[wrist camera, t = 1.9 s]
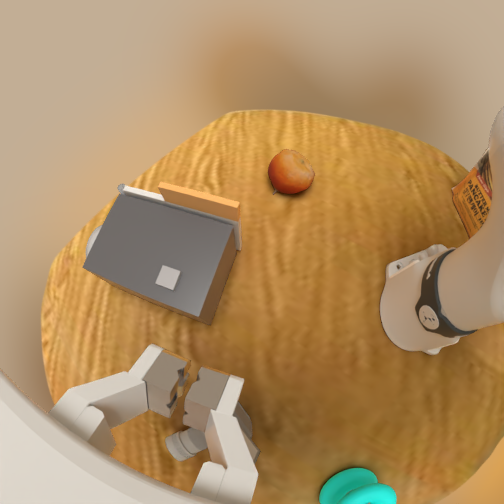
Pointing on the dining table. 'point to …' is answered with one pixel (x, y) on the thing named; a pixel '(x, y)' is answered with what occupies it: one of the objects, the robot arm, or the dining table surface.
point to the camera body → (163, 256)
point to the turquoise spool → (356, 489)
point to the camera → (195, 440)
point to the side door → (193, 204)
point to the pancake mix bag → (475, 195)
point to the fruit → (290, 172)
